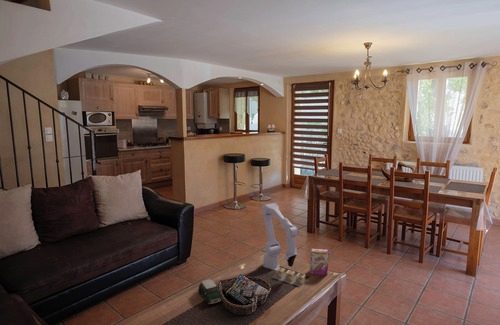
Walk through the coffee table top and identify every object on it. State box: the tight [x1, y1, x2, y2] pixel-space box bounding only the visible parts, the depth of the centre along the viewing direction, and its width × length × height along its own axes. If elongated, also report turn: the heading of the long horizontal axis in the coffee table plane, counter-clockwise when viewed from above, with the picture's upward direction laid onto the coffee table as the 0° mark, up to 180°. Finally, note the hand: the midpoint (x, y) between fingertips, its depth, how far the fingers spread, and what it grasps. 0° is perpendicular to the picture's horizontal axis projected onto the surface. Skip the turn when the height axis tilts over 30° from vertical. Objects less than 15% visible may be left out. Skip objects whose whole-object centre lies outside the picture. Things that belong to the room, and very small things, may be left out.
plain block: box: [285, 269, 296, 281], centre depth 198 cm, size 4×4×4 cm
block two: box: [295, 272, 306, 285], centre depth 195 cm, size 4×4×5 cm
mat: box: [271, 272, 309, 288], centre depth 199 cm, size 21×10×1 cm, turn 59°
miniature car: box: [197, 278, 222, 306], centre depth 178 cm, size 9×18×8 cm, turn 29°
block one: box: [275, 266, 286, 278], centre depth 202 cm, size 4×4×5 cm
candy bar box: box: [309, 248, 330, 276], centre depth 205 cm, size 11×5×16 cm, turn 84°
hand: (290, 265), depth 197 cm, fingers closed
